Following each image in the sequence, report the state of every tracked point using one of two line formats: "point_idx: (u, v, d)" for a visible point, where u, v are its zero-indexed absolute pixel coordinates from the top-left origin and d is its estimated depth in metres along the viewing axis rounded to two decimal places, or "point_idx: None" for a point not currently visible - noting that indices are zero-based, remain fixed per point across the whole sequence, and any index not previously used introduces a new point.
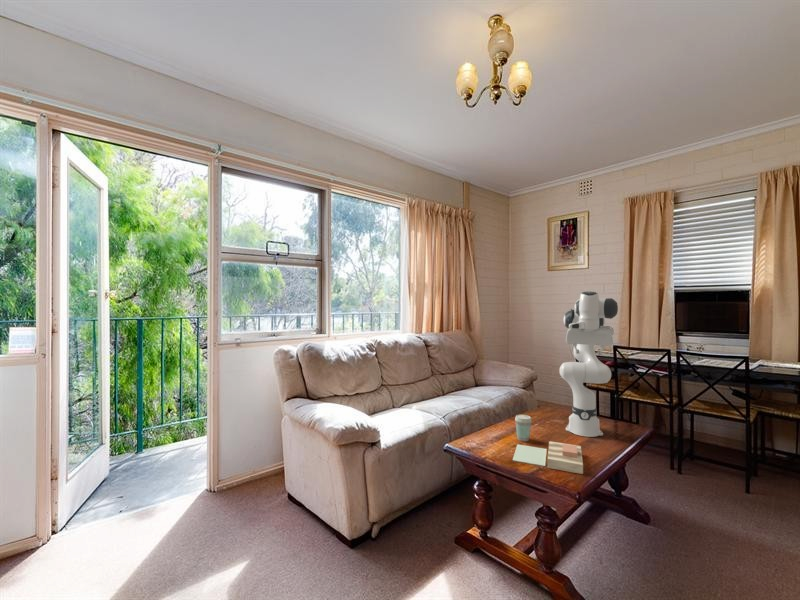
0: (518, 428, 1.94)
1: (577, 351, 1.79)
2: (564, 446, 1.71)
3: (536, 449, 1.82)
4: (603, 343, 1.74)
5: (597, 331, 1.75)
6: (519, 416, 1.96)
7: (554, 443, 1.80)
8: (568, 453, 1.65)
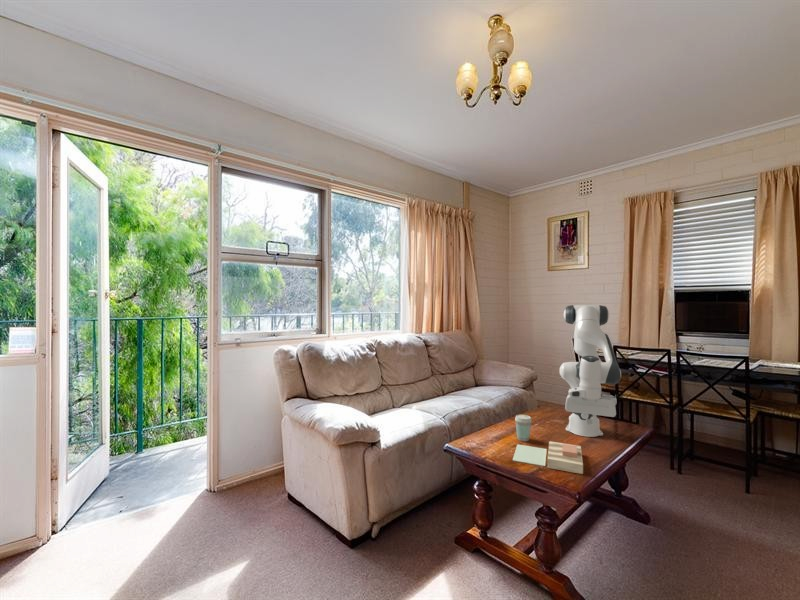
0: (518, 428, 1.94)
1: (587, 421, 1.65)
2: (564, 446, 1.71)
3: (536, 449, 1.82)
4: (605, 414, 1.62)
5: (599, 400, 1.63)
6: (519, 416, 1.96)
7: (554, 443, 1.80)
8: (568, 453, 1.65)
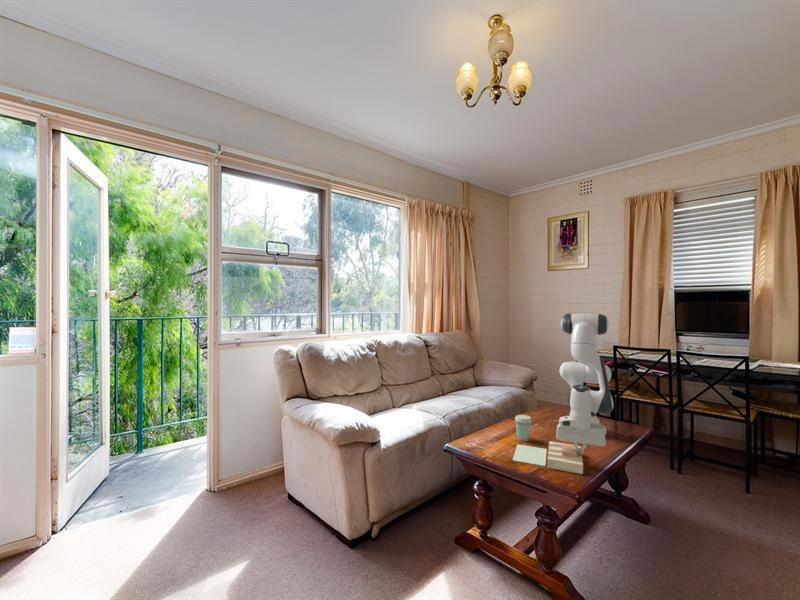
0: (518, 428, 1.94)
1: (578, 450, 1.67)
2: (563, 446, 1.72)
3: (536, 449, 1.82)
4: (595, 443, 1.63)
5: (589, 430, 1.64)
6: (519, 416, 1.96)
7: (554, 443, 1.80)
8: (567, 453, 1.65)
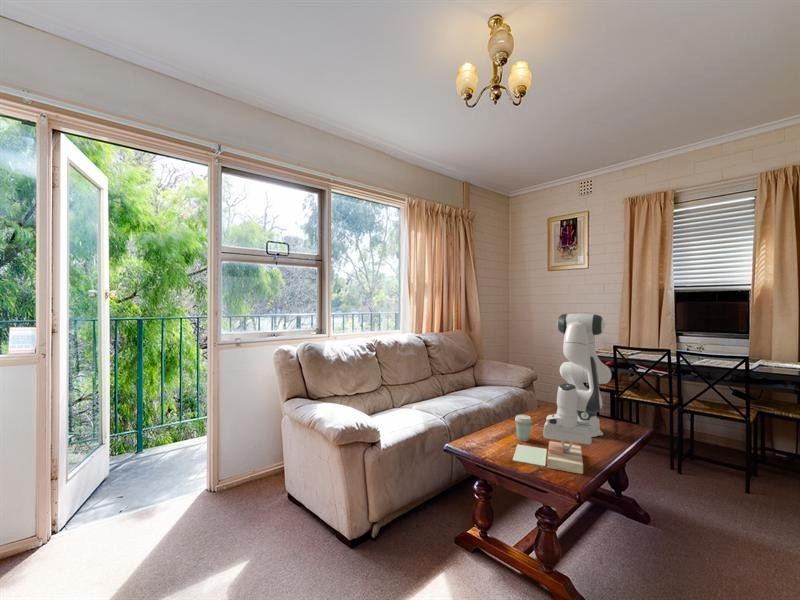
0: (518, 428, 1.94)
1: (564, 448, 1.69)
2: (551, 444, 1.74)
3: (536, 449, 1.82)
4: (581, 441, 1.66)
5: (575, 428, 1.67)
6: (519, 416, 1.96)
7: None
8: (554, 451, 1.68)
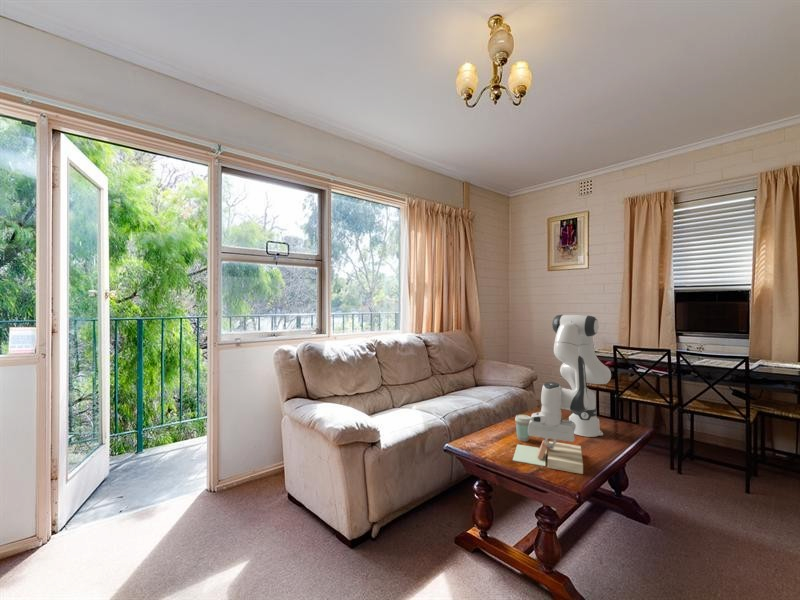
0: (518, 428, 1.94)
1: (548, 445, 1.72)
2: (538, 451, 1.76)
3: (536, 449, 1.82)
4: (564, 439, 1.68)
5: (559, 426, 1.69)
6: (519, 416, 1.96)
7: None
8: (540, 454, 1.70)
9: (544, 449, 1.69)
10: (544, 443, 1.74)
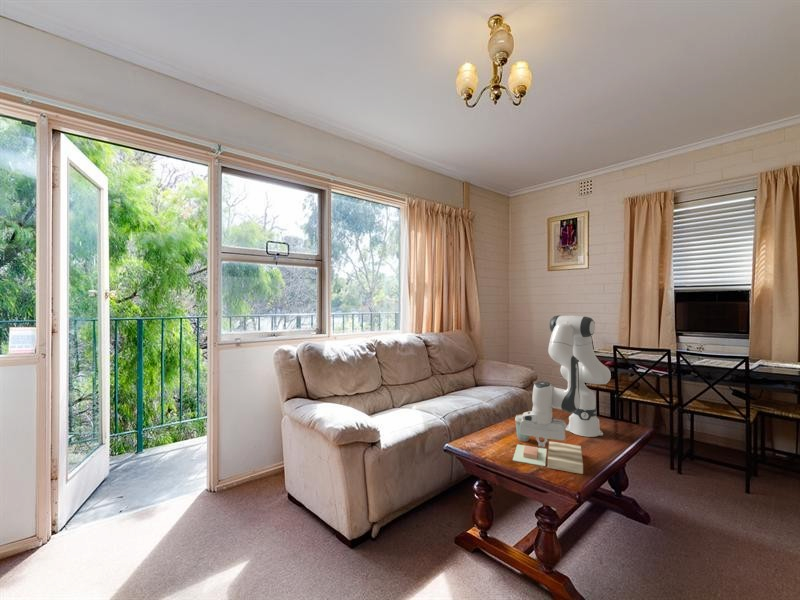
0: (518, 428, 1.94)
1: (539, 444, 1.74)
2: None
3: None
4: (555, 437, 1.70)
5: (549, 425, 1.71)
6: (519, 416, 1.96)
7: (554, 443, 1.80)
8: (531, 457, 1.71)
9: (525, 454, 1.73)
10: None
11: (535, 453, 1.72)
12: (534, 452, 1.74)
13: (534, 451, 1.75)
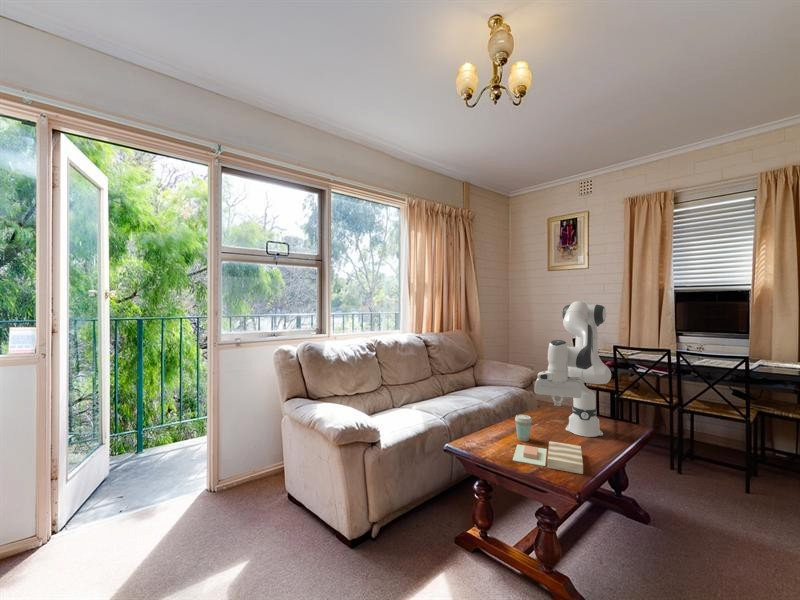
0: (518, 428, 1.94)
1: (555, 403, 1.71)
2: None
3: None
4: (571, 395, 1.68)
5: (566, 382, 1.69)
6: (519, 416, 1.96)
7: (554, 443, 1.80)
8: (531, 457, 1.71)
9: (525, 454, 1.73)
10: None
11: (535, 453, 1.72)
12: (534, 452, 1.74)
13: (534, 451, 1.75)
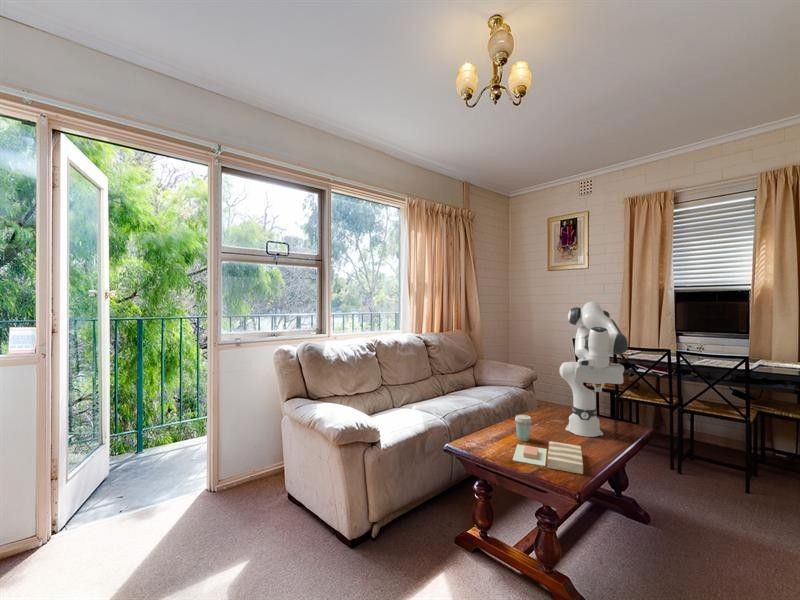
0: (518, 428, 1.94)
1: (596, 389, 1.73)
2: None
3: None
4: (613, 381, 1.69)
5: (607, 369, 1.70)
6: (519, 416, 1.96)
7: (554, 443, 1.80)
8: (531, 457, 1.71)
9: (525, 454, 1.73)
10: None
11: (535, 453, 1.72)
12: (534, 452, 1.74)
13: (534, 451, 1.75)
